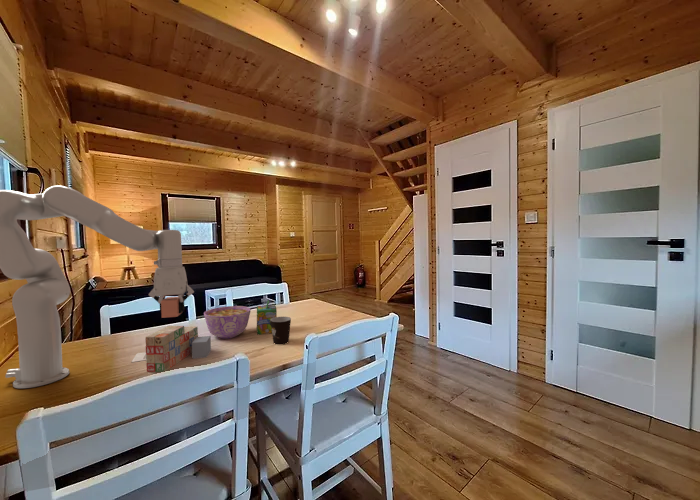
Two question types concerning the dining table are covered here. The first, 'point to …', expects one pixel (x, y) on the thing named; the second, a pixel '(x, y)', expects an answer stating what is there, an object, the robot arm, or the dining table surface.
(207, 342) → the slate brick
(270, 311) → the juice box
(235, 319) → the bowl of food
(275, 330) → the coffee mug
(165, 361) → the stack of blocks
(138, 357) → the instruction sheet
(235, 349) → the dining table surface
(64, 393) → the dining table surface
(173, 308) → the terracotta brick
